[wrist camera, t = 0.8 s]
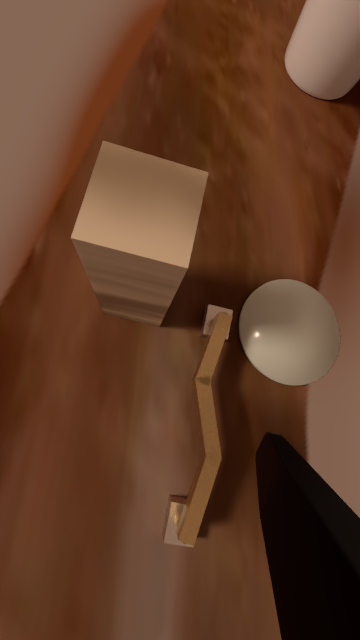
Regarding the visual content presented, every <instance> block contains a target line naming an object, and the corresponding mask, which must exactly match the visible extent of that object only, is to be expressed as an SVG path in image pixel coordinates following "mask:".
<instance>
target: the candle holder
mask: <svg viewBox="0 0 360 640" xmlns="http://www.w3.org/2000/svg"><path fill="white" fill-rule="evenodd" d="M285 67H286V70H287V73H288V75H289V76H290V78H291V80H292V81H293V82H294V83H295V84H296V85H297V86H298V87H299V88H300V89H301V90H302V91H304V92H305V93H307V94H309V95H311V96H313V97H316V98H319V99H325V100H333V99H338V98H340V97H343V96H344V95H346V94H347V93H348V92H349V91H350V90H351V89H352V88H353V87H354V85H355V84H356V83H357V82H358V81H359V80H360V0H306V2H305V4H304V7H303V9H302V12H301V14H300V17H299V19H298V21H297V24H296V26H295V29H294V31H293V34H292V36H291V39H290V41H289V44H288V47H287V50H286V53H285Z"/></svg>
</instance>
